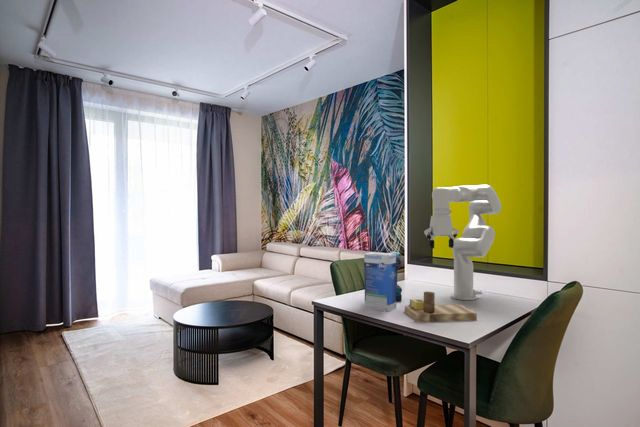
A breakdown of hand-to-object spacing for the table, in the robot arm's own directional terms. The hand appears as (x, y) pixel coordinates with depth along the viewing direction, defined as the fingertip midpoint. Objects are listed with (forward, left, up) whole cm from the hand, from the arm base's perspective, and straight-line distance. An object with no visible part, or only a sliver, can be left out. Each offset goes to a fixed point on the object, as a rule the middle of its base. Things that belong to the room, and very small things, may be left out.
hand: (441, 247), depth 175 cm
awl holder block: (+12, +3, -28) cm, 30 cm away
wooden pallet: (+10, +18, -28) cm, 35 cm away
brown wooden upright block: (+16, +21, -27) cm, 38 cm away
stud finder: (+17, +15, -25) cm, 33 cm away
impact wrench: (+20, -13, -28) cm, 36 cm away
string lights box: (+32, +3, -28) cm, 42 cm away
